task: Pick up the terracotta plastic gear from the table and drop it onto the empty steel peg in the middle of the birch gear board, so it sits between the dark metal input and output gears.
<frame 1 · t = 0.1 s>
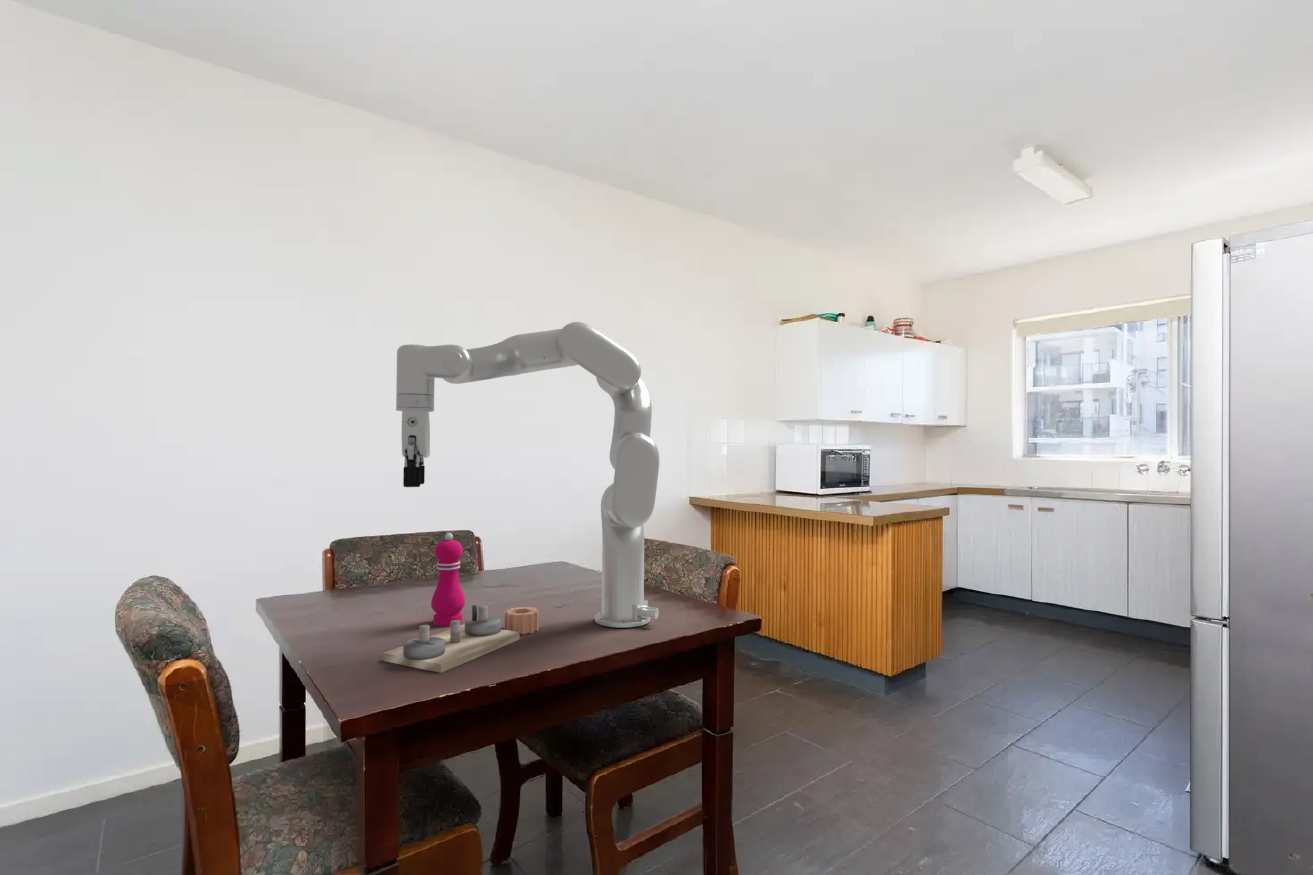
hand: (414, 485, 138), 31 cm above the table, tool pointing down, fingers open, 9 cm apart
pepper mill: (448, 623, 146), on the table
gear: (521, 629, 141), on the table
gear board: (455, 649, 127), on the table
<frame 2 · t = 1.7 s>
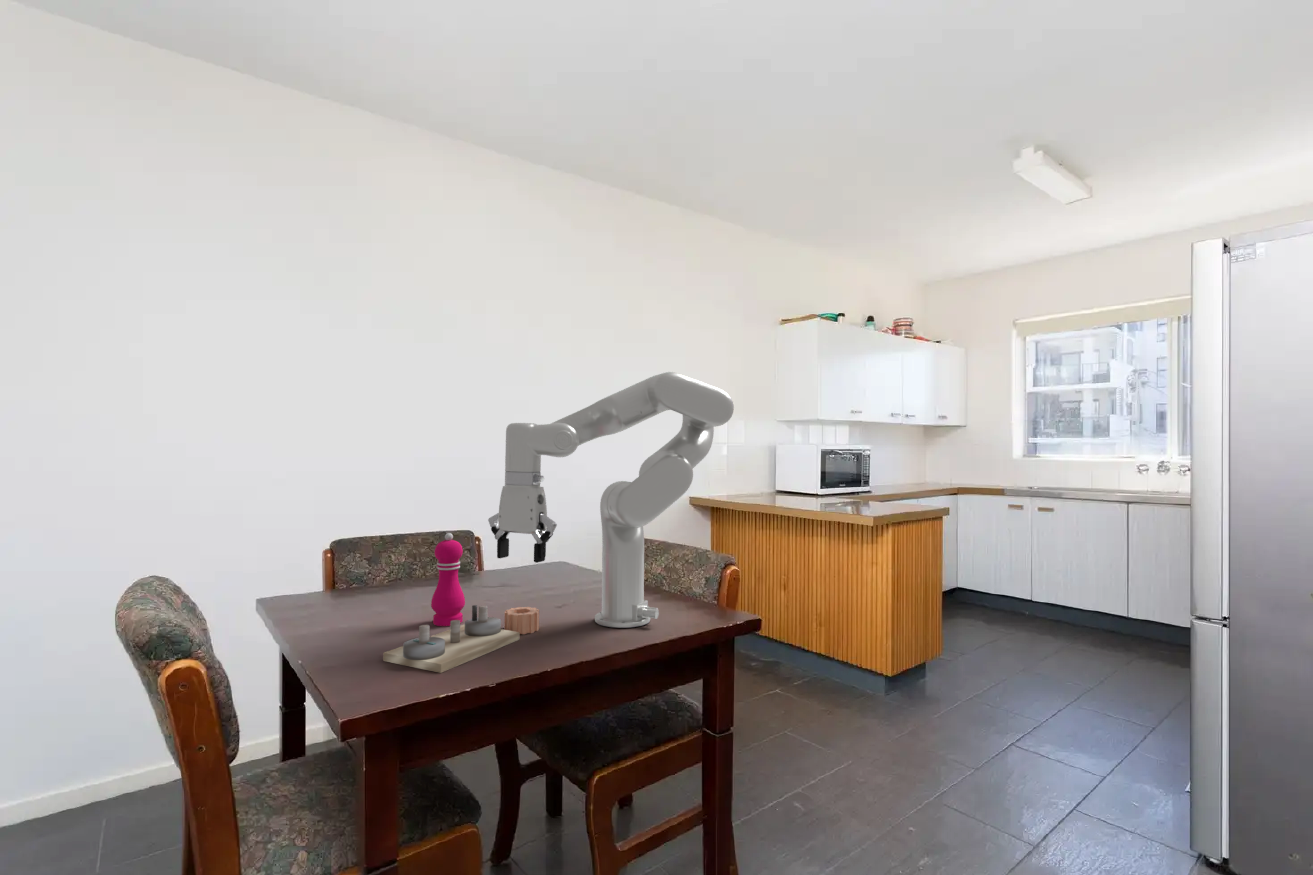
hand: (520, 559, 141), 15 cm above the table, tool pointing down, fingers open, 9 cm apart
nothing on the table moved.
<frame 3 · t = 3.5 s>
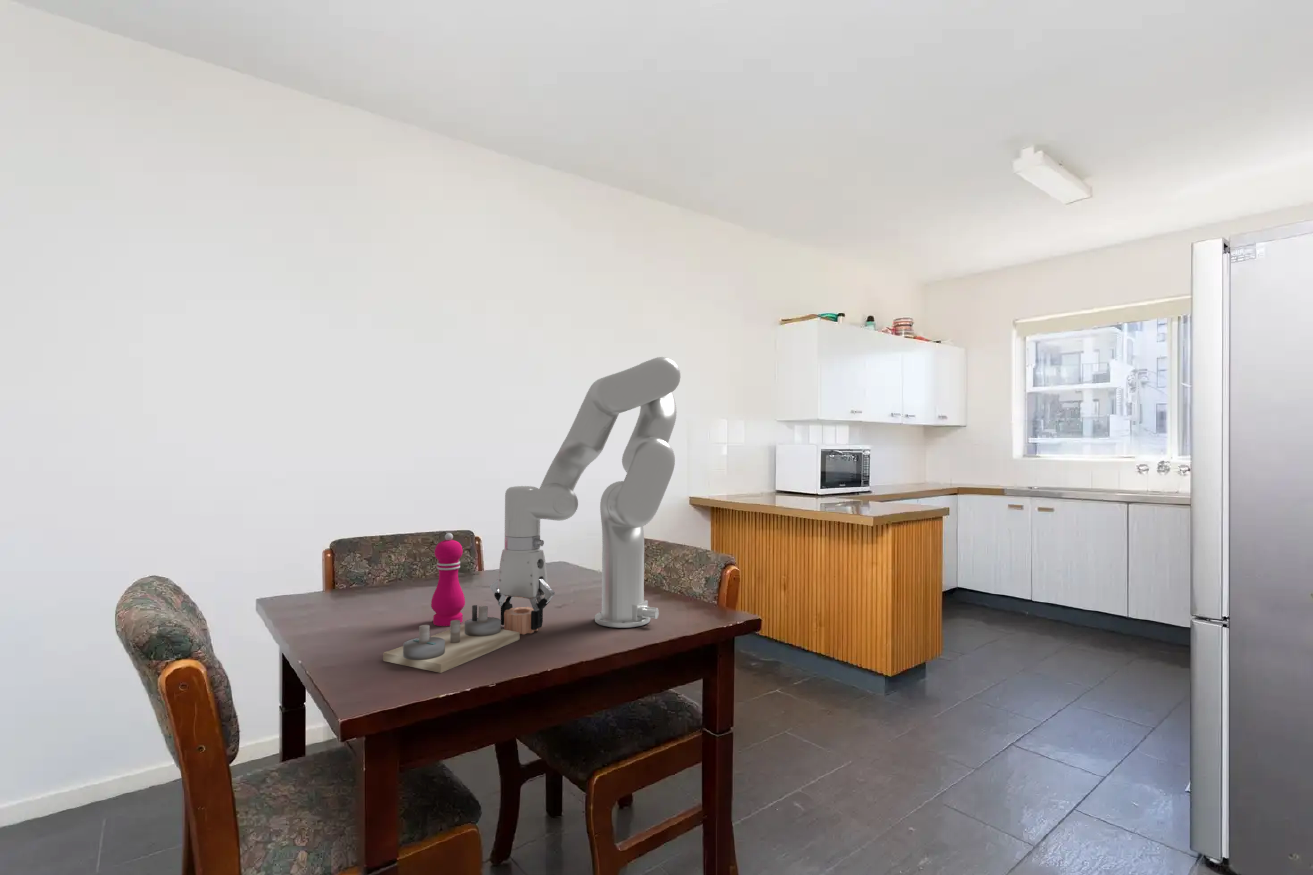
hand: (521, 625, 141), 1 cm above the table, tool pointing down, fingers closed on gear, 7 cm apart
gear: (521, 629, 141), on the table, touching gripper
everything else where it was.
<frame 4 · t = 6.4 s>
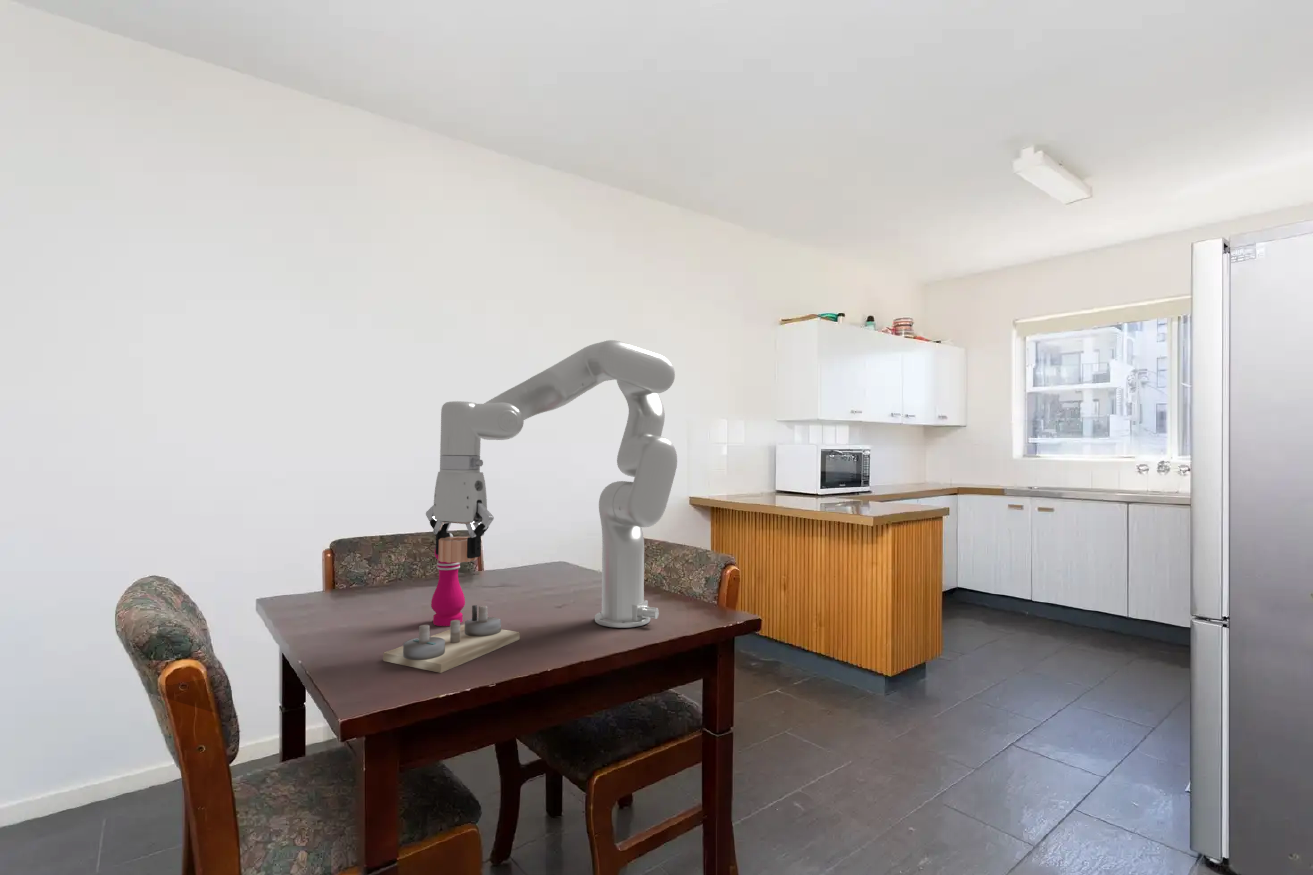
hand: (458, 555, 128), 18 cm above the table, tool pointing down, fingers closed on gear, 7 cm apart
gear: (458, 559, 128), point 17 cm above the table, touching gripper
everything else where it was.
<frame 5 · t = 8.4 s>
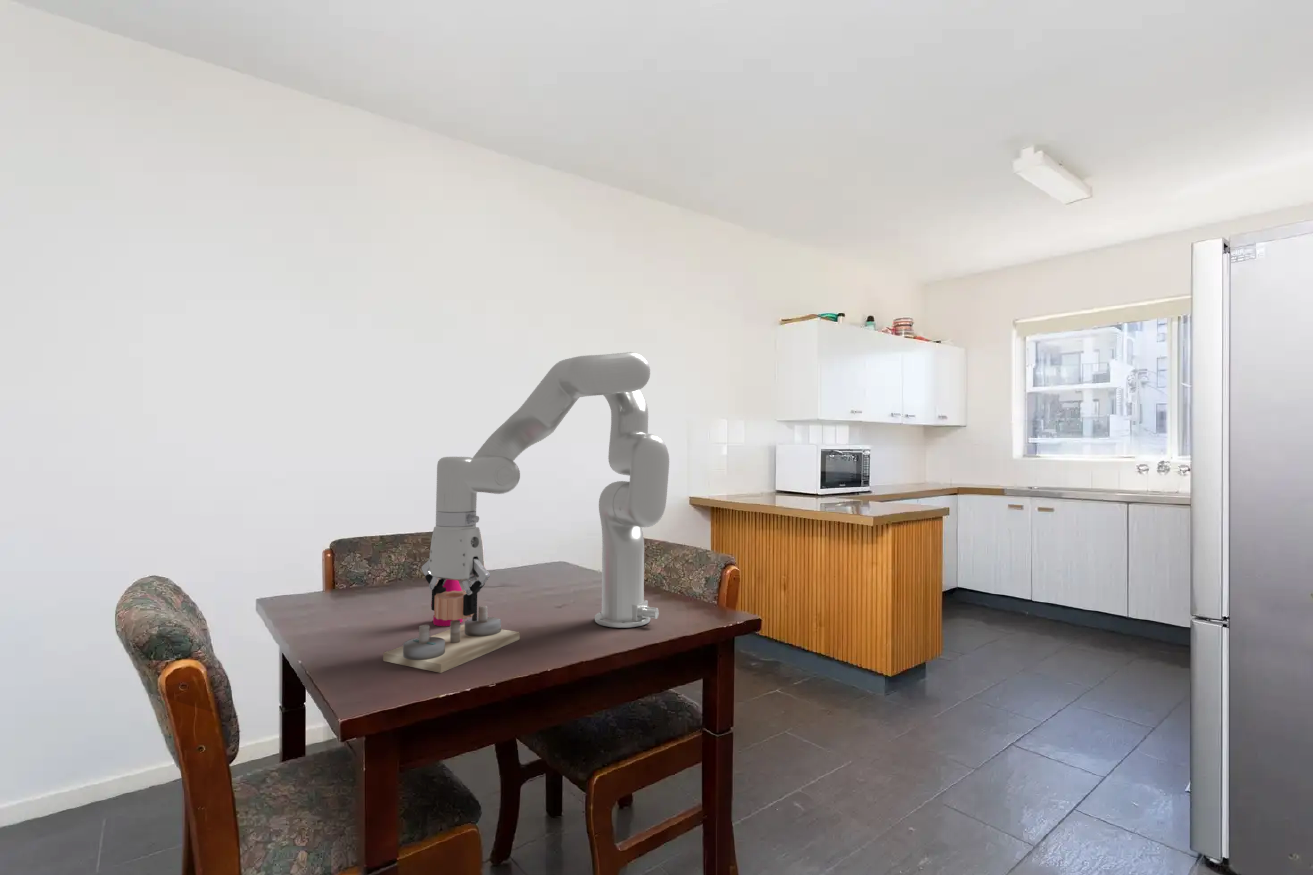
hand: (454, 610, 127), 8 cm above the table, tool pointing down, fingers closed on gear, 7 cm apart
gear: (454, 615, 127), point 7 cm above the table, touching gripper
everything else where it was.
when the fingers open (4 cm above the table, at t = 9.8 s): gear drops 1 cm, resting on gear board.
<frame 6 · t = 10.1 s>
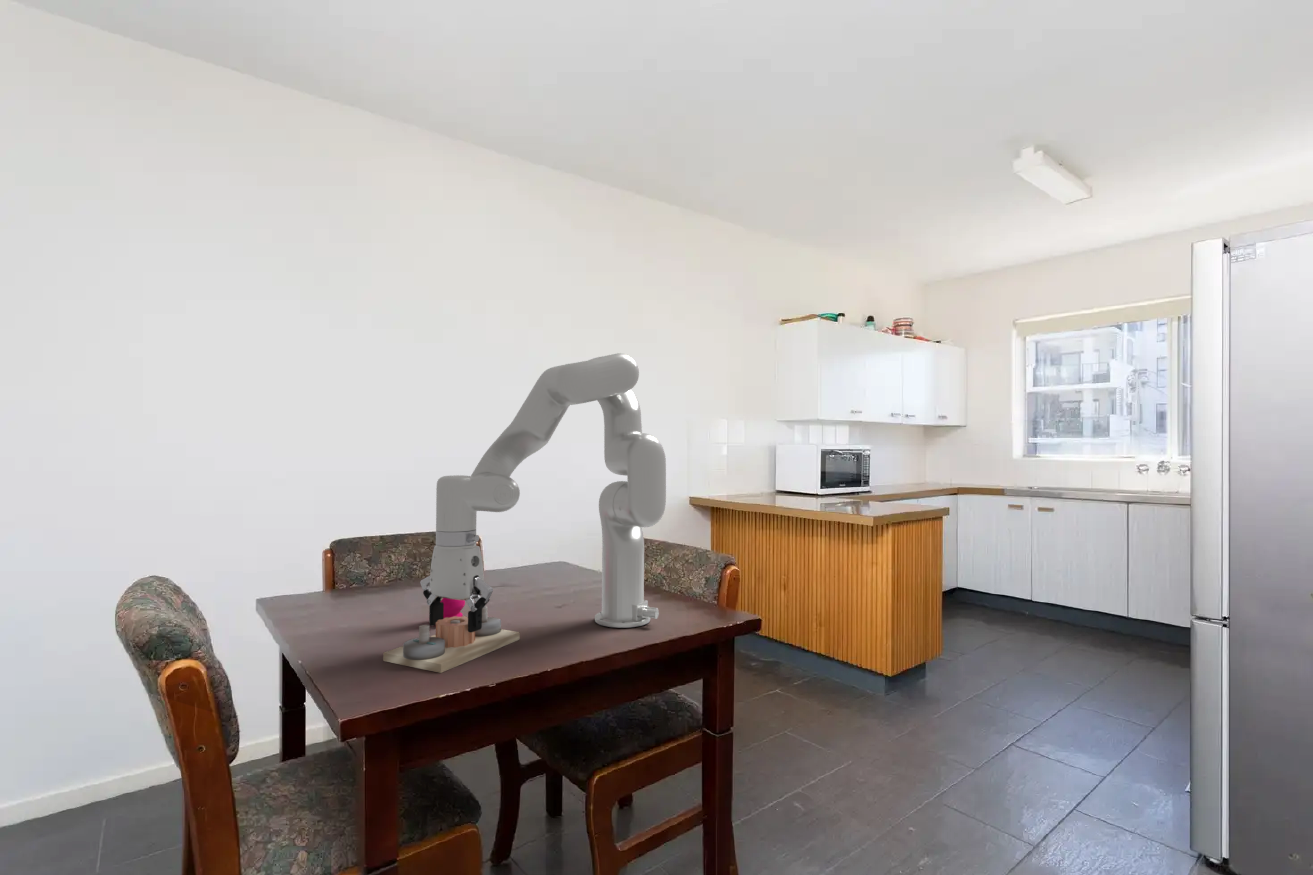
hand: (455, 627, 127), 4 cm above the table, tool pointing down, fingers open, 9 cm apart
gear: (455, 641, 127), point 1 cm above the table, touching gear board
everything else where it was.
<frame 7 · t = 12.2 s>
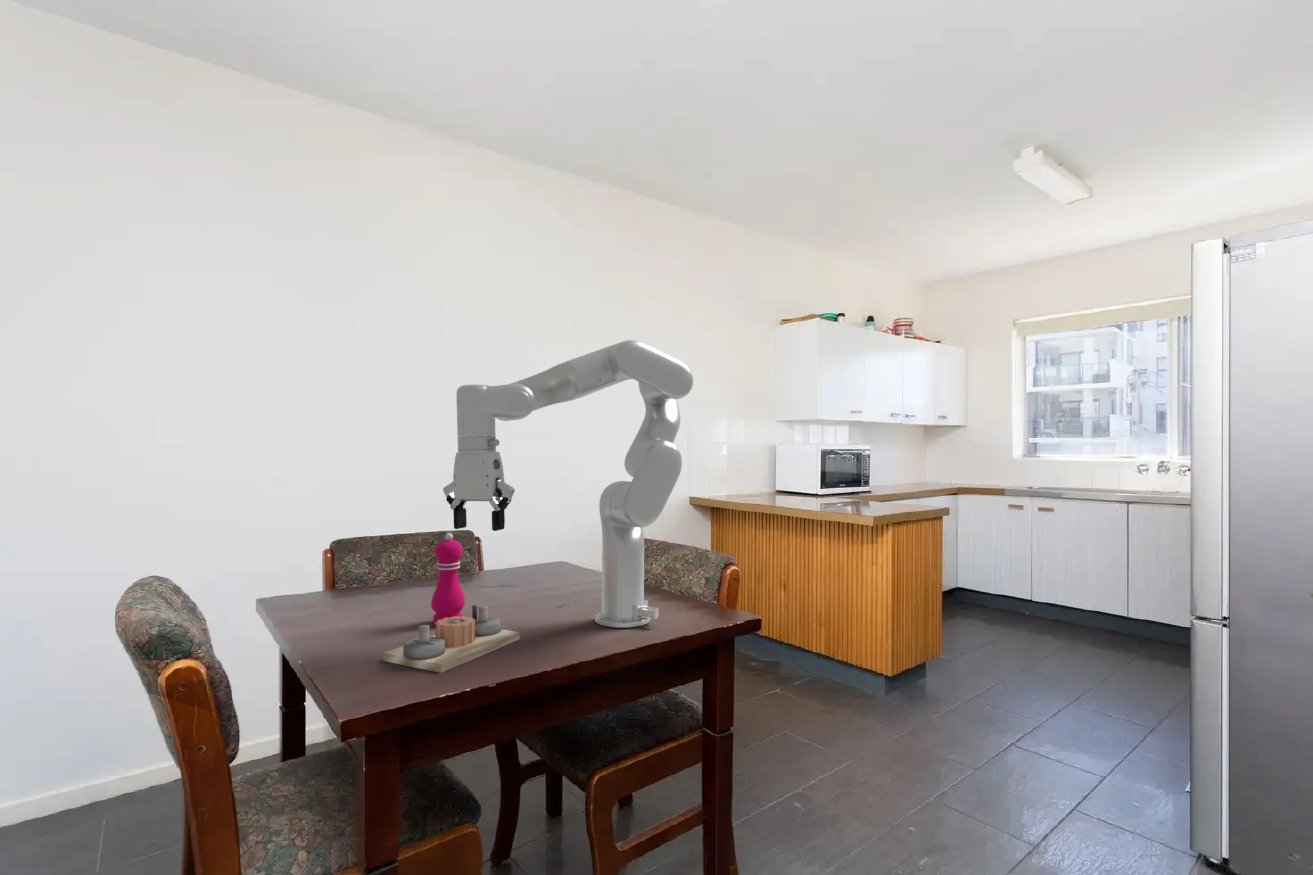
hand: (479, 529, 134), 23 cm above the table, tool pointing down, fingers open, 9 cm apart
nothing on the table moved.
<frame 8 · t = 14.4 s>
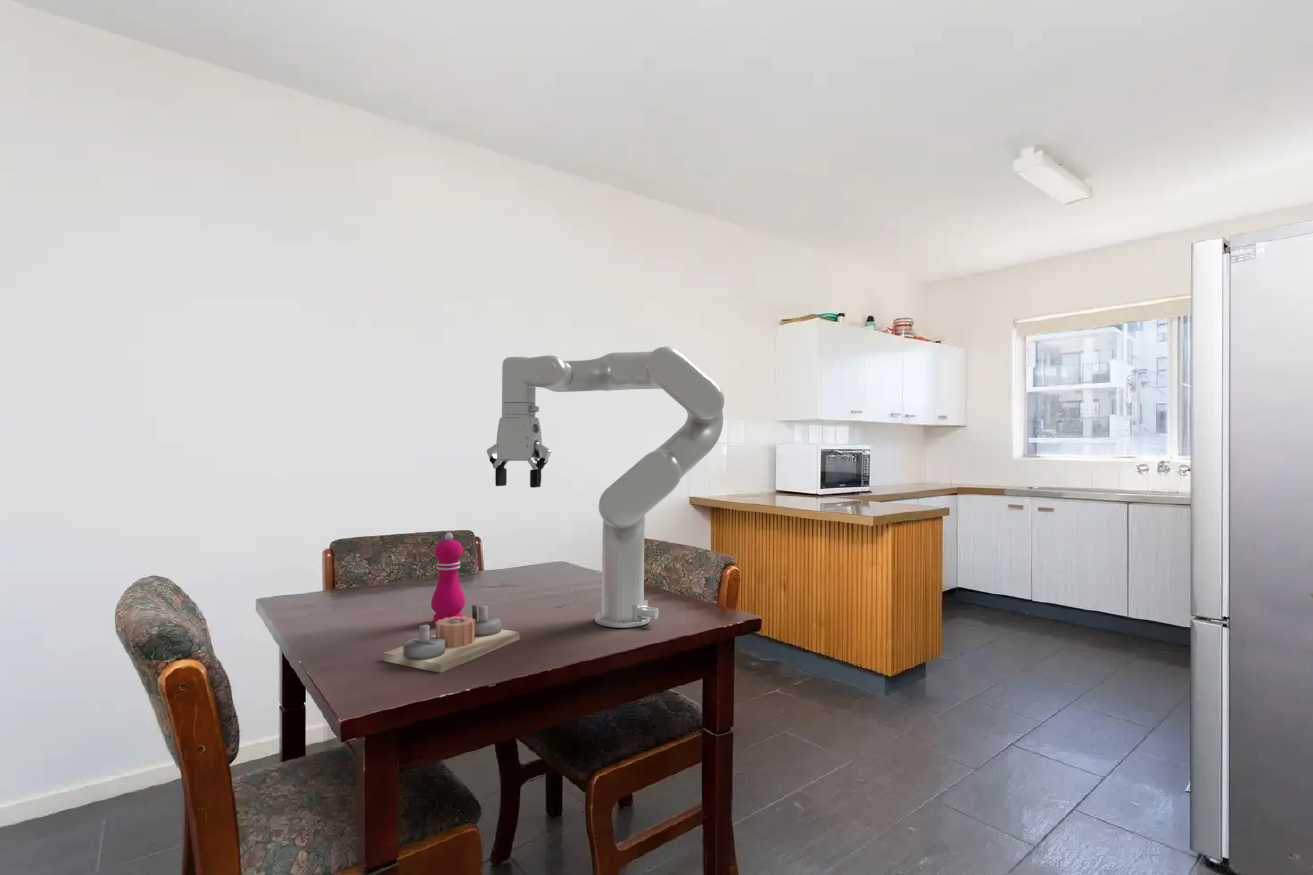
hand: (517, 486, 149), 30 cm above the table, tool pointing down, fingers open, 9 cm apart
nothing on the table moved.
at the end: gear 0.1 cm off-centre on the gear board, point 1.5 cm above the gear board's base; gear tilted 0°; the gripper is holding nothing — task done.
